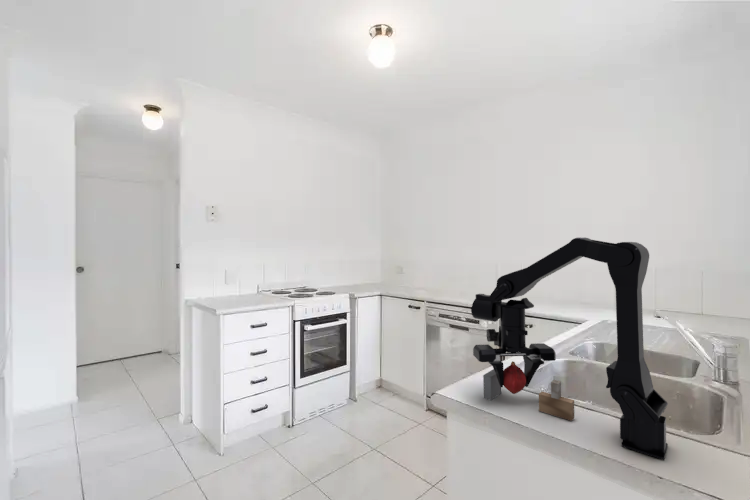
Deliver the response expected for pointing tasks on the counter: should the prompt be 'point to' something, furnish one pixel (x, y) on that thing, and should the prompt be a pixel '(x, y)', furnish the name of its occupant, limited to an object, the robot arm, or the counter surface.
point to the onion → (514, 378)
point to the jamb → (491, 385)
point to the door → (556, 402)
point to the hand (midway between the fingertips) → (513, 386)
